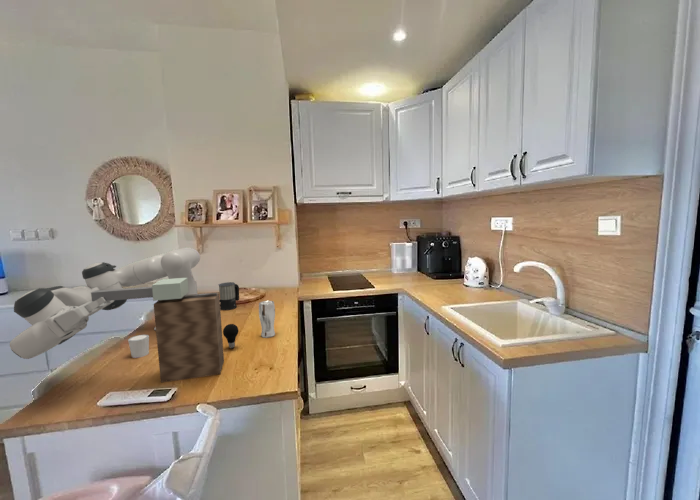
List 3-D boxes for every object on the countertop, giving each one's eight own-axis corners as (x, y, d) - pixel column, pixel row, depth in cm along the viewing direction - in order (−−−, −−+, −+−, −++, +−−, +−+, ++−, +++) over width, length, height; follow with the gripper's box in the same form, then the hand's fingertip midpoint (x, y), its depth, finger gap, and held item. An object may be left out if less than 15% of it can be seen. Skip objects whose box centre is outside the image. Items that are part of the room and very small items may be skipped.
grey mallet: (86, 306, 95) (84, 290, 95) (102, 298, 105) (100, 283, 104) (181, 298, 102) (180, 283, 101) (188, 291, 111) (187, 277, 111)
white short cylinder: (136, 351, 128) (134, 334, 127) (154, 350, 128) (152, 333, 128) (125, 359, 121) (123, 341, 120) (144, 357, 122) (142, 340, 121)
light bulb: (230, 352, 125) (228, 327, 123) (221, 349, 128) (219, 325, 127) (242, 346, 129) (241, 323, 128) (233, 344, 133) (231, 321, 132)
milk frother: (233, 310, 183) (231, 285, 181) (206, 311, 183) (204, 285, 182) (241, 303, 197) (240, 280, 195) (216, 304, 197) (215, 280, 196)
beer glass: (272, 338, 138) (270, 305, 136) (257, 337, 139) (255, 304, 137) (278, 332, 144) (277, 300, 143) (264, 332, 146) (262, 300, 144)
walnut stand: (160, 382, 102) (153, 301, 100) (169, 368, 112) (163, 294, 109) (220, 374, 107) (214, 296, 104) (224, 361, 117) (218, 290, 114)
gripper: (94, 318, 109) (131, 295, 112) (56, 340, 90) (103, 312, 92) (81, 303, 108) (119, 281, 110) (40, 322, 88) (88, 294, 90)
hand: (111, 295), depth 101 cm, fingers open, 8 cm apart
